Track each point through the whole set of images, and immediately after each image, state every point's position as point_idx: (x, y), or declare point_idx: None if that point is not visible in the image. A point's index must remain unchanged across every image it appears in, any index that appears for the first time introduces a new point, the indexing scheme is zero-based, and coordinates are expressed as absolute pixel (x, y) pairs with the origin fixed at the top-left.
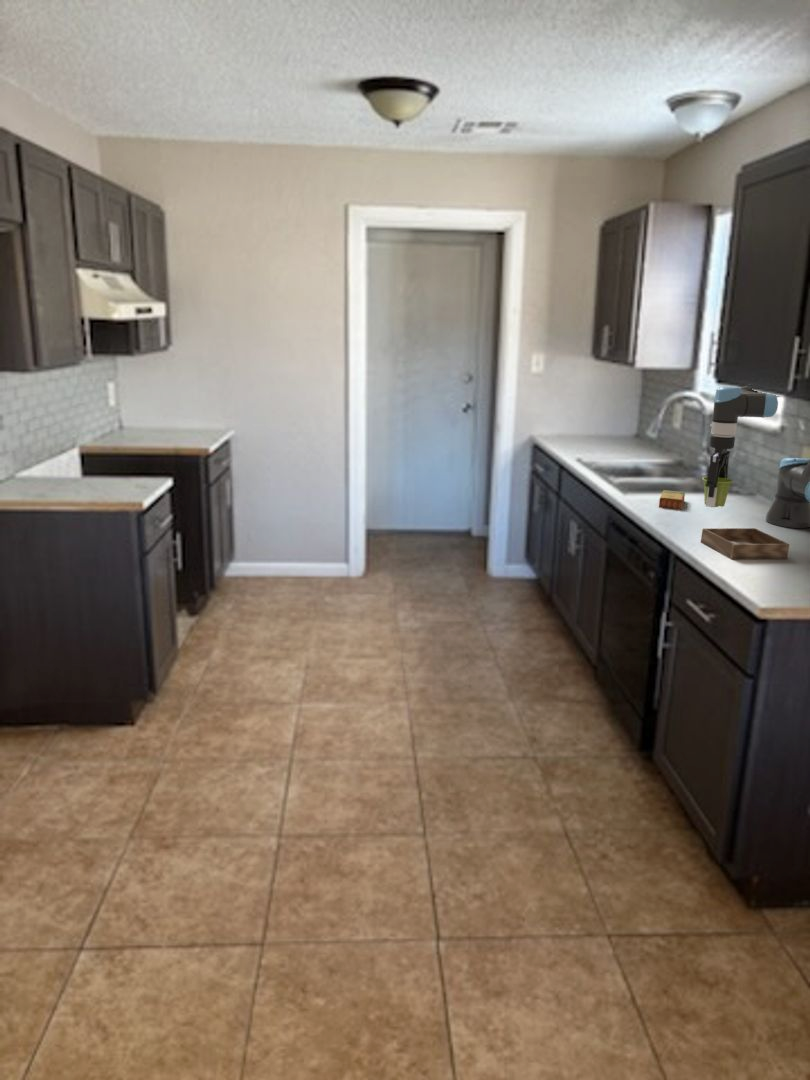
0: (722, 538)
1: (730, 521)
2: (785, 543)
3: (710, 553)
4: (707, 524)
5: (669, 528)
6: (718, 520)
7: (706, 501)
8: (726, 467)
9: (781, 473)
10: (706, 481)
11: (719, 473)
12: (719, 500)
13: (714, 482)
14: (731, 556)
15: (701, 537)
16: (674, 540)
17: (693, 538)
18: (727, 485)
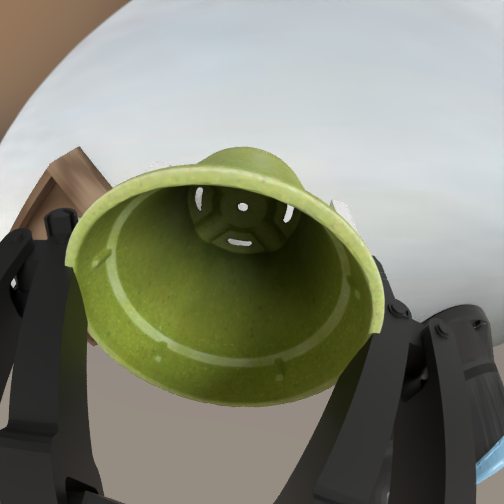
0: (12, 229)
1: (444, 225)
2: (92, 341)
3: (19, 190)
4: (374, 143)
5: (205, 3)
6: (448, 188)
7: (143, 173)
8: (395, 461)
9: (483, 435)
10: (93, 227)
11: (347, 387)
12: (179, 250)
13: (13, 300)
14: None
15: (69, 152)
16: (53, 76)
17: (108, 114)
18: (164, 357)
